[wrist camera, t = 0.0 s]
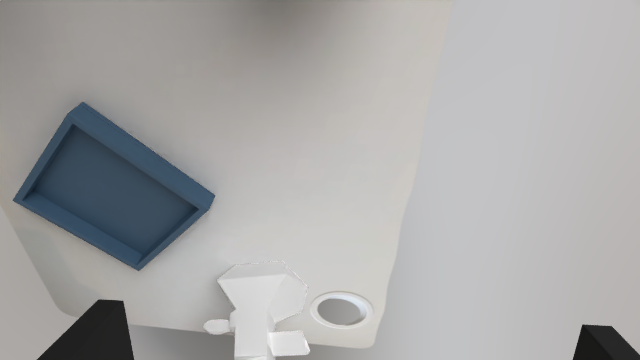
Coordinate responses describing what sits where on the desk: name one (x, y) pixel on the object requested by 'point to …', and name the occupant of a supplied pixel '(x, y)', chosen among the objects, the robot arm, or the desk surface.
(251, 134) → the desk surface
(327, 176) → the desk surface
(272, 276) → the tape dispenser
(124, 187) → the tray
